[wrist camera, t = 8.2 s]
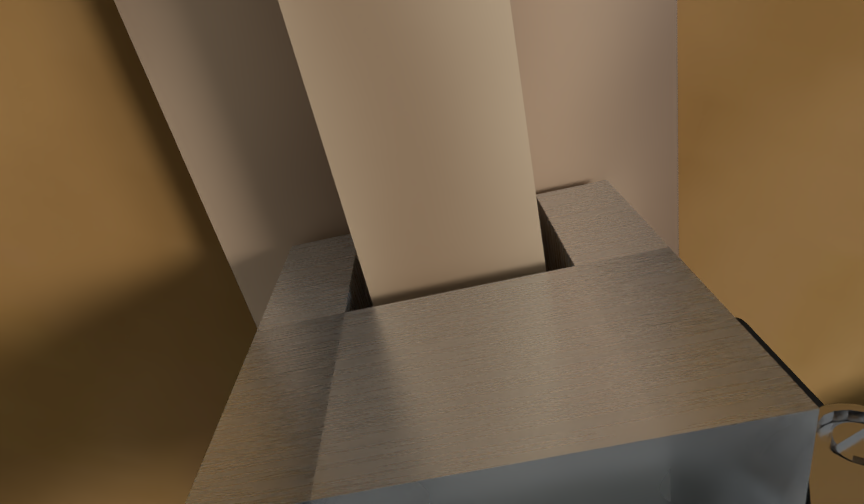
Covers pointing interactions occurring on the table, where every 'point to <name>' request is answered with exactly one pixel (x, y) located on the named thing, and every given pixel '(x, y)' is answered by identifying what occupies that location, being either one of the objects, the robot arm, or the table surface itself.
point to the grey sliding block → (512, 384)
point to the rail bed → (411, 126)
